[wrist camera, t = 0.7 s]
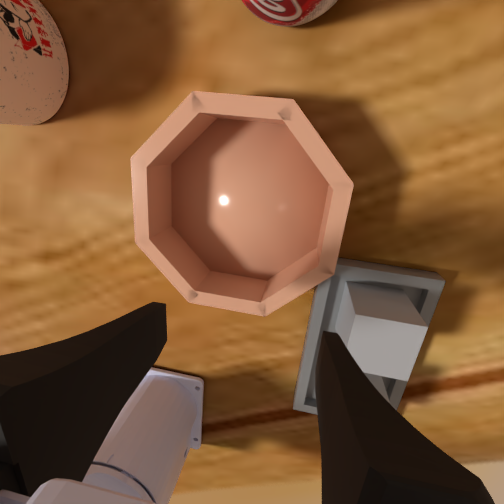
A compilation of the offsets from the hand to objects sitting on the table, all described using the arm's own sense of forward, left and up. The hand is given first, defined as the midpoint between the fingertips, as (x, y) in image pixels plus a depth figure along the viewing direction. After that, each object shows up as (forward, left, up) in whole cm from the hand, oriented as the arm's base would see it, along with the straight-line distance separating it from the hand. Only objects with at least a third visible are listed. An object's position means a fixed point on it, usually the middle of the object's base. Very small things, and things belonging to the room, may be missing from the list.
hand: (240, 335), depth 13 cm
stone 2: (-3, -8, -9) cm, 13 cm away
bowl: (+4, +2, -10) cm, 11 cm away
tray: (-6, -8, -10) cm, 14 cm away
